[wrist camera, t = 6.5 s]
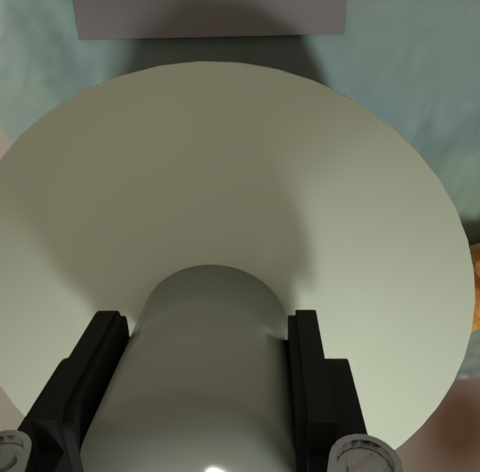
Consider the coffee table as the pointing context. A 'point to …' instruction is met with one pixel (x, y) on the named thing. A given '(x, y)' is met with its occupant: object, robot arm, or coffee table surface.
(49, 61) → the coffee table surface
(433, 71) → the coffee table surface
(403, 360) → the lid
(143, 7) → the mat
